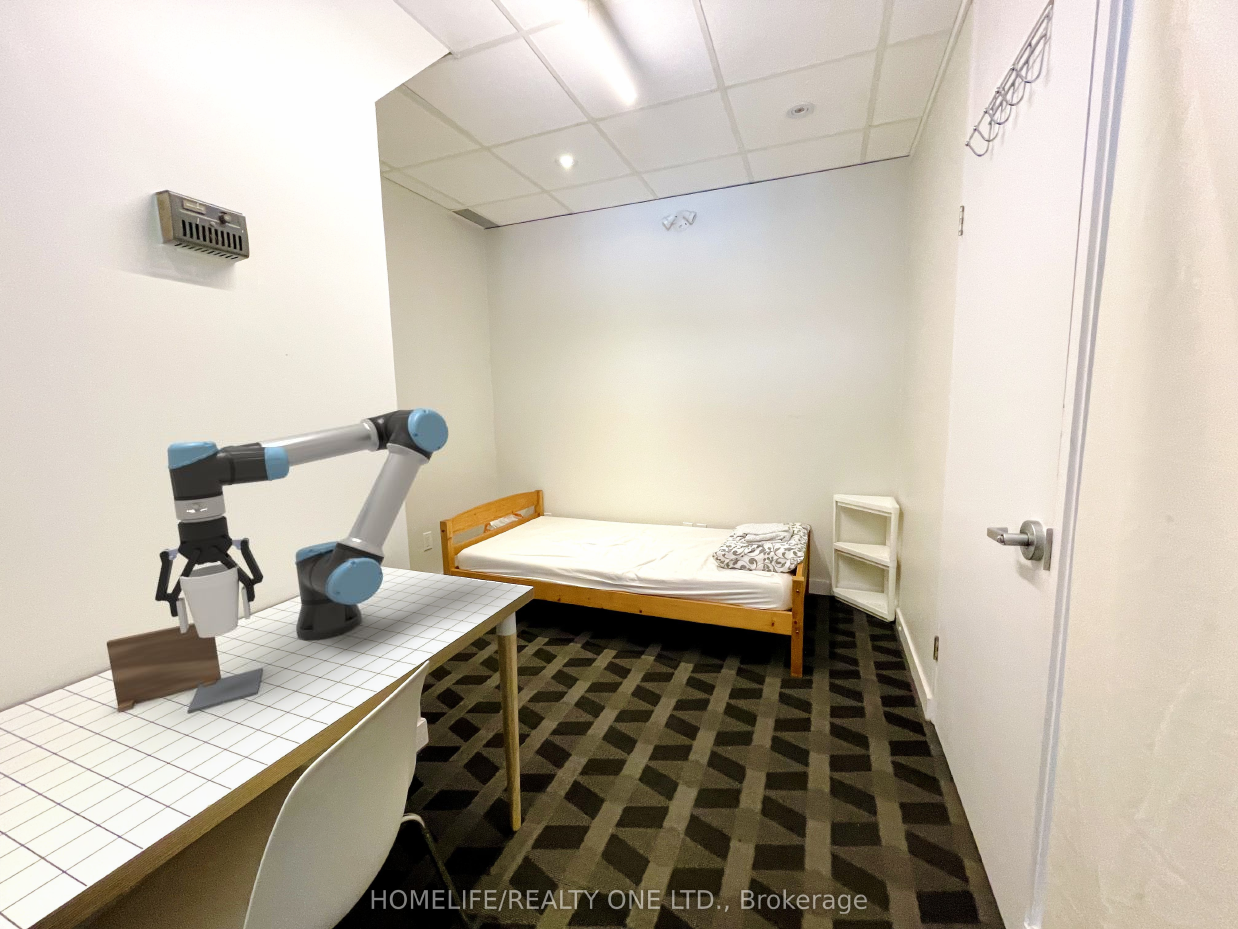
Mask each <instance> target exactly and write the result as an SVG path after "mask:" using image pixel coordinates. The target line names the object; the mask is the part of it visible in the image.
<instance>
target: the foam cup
mask: <svg viewBox="0 0 1238 929" xmlns="http://www.w3.org/2000/svg"><path fill="white" fill-rule="evenodd" d="M236 563H237V562H236ZM237 564H238V565H237V567H236V568H232V569H230V570H228V569H227V567H226V566H225V565H223V564H222V563H221V562H220V563H213V564H209V565H204V566H201V567H197V568H195V567H194V568H193V570H192V572H191V574H190V576H189V577H183V576H181V577H180V575H181V574H179V575H178V579H179V578H180V585H181V589H182V592H183V594H184V597H185V601H186V602H187V606H188V609H189V612H190V615H191V617H192V620H193V623H194V624H195V627H196V630H197V632H198V634H199V637H202V638H209V637H215V638H216V637H219V636H221V635H225V634H228V633H231V632H232V631H235V630H236V629H237V628H238V627H239V625H238V624H239V607H240V606H239V605H240V604H239V602H240V600H239V599H240V597H239V596H240V581H239V580H238V573H237V568H239V566H240V565H239V563H237ZM239 569H240V568H239Z"/></svg>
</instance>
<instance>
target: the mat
mask: <svg viewBox="0 0 1238 929" xmlns="http://www.w3.org/2000/svg"><path fill="white" fill-rule="evenodd" d="M263 671H264V670H263V667H261V668H256V669H253V670H248V671H245V672H240V673H238V674H233V675H230V676H226V677H221V679H218V680H217V681H216V684H213V685H210V686H206V687H203V684H204V683H203V684H199V686H198V688H196V690H195V692H194V695H193V697H192V700H191V702H190V704H189V706H188V708H187V710H186V711H187V714H191V713H196V712H198V711H203V710H206V709H209V708H212V707H217V706H219V705H223V704H227V703H230V702H233V701H237V700H241V699H245V698H248V697H250V696H251V697H252V696H255V695H258V694H259V691H260V684H261V680H262V675H263Z"/></svg>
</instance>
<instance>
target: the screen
mask: <svg viewBox="0 0 1238 929" xmlns="http://www.w3.org/2000/svg"><path fill="white" fill-rule="evenodd" d="M188 624H189V628H188V630H187V631H186V632H185V633H181V630H180V625H178V626H172V627H168V628H162V629H158V630H154V631H148V632H142V633H138V634H134V635H130V636H129V635H127V636H125V637H120V638H115V639H110V640H107V642H106V648H107V653H108V659H109V666H110V670H111V676H112V677H111V678H112V681H113V686H114V693H115V698H116V703H117V704H116V705H117V712H118V714H119V713H122V712H126V711H130V710H133V709H134V707H135V706H136V704H140V703H145V702H148V701H152V700H156V699H160V698H164V697H167V696H172V695H175V694H179V693H182V692H186V691H190V690H193V689H197V688H198V686H199V684H203V683H204V684H203V687H206V686H210V685H213V684H216V681H217V680H218V679H221V678H222V676H221V668H220V662H219V661H220V660H219V655H218V654H219V653H218V648H217V642H216V636H215V637H209V638H202V637H199V634H198V632H197V630H196V627H195V624H194V622H192V623H188Z"/></svg>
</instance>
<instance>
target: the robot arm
mask: <svg viewBox="0 0 1238 929" xmlns="http://www.w3.org/2000/svg"><path fill="white" fill-rule="evenodd" d="M448 439H449V427H448V426H447V422H446V420H445V418H444V416H442V415H441V414H440V413H439V412H437V411H436V410H432V409H429V408H423V407H422V408H421V407H420V408H416V409H399V410H394V411H391V412H390V411H389V412H387V413H384V414H379V415H376V416H372V417H368V418H363V419H361V420H360V422H358V423H354V424H348V425H344V426H343V425H342V426H338V427H337V426H336V427H333V428H328V429H327V428H326V429H322V430H316V431H311V432H306V433H299V434H293V435H289V436H283V437H278V438H272V439H267V440H266V439H265V440H262V441H261V440H260V441H256V442H252V443H243V444H238V445H227V446H224V447H220V448H218V446H217V444H216V442H215V441H212V440H209V441H207V440H206V441H188V442H176V443H172V444H170V445H169V446H168V447H167V465H168V466H167V469H168V472H169V477H170V479H169V480H170V483H171V490H172V495H173V504H174V509H175V510H174V511H175V518H176V519H177V520H179V521H178V523H177V530H178V537H179V545H178V547H175V548H165V549H163V550H162V551H160V553H159V559H160V562H161V565H160V566H161V567H160V572H159V576H158V582H157V587H156V592H155V596H154V597H155V598H154V601H155V602H168V604H169V610H170V616H171V617H172V618H176V617H177V618H178V622H179V623H178V624H179V626H180V630H181V633H185V632H186V631H187V630H188V628H189V624H190V623H189V619H188V612H187V606H186V597H185V596H182V597H180V595H181V593H182V592H183V589H181V585H180V578H179V577H178V579H177V581H176V583H175V585H174V587H173V589H172V591H171V592H168V589H169V584H170V579H171V576H172V575H171V574H172V569H173V564H174V560H175V559H176V558H177V555H178V554H180V555H181V556H182V557H183V558H185V559H186V560H187V562H186V564H185V565H184V568H183V570H182V572H181V574H179V575H180V577H181V576H183V577H189V576H190V574H191V572H192V570H193V569H195V567H196V566H201V565H205V564H208V563H211V564H216V563H218V562H220V564H221V563H222V564H223V565H225V566H226V567H227V569H228V570H230V569H232V568H236V567H237V565H239V563H238V564H237V562H236V561H235V560H234V559H233V557H232V555H230V553H228V551H229V550H230V549H231V547H233V546H234V547H235V548H236V549H237V551H240V554H241V556H242V558H243V560H244V562H245V564H246V566H247V568H248V570H249V571H250V573H251V575H252V578H251V577H250V575H249V574H248V573H247V572H246V571H245V570H244V569H243V568H242V567H241V566H240V565H239V568H240V569H239V568H237V573H238V580H239V583H241V584H242V585H243V586H242V587H241V589H240V593H241V599H242V606H243V614H244V619H245V621H246V620H249V619H251V616H252V610H251V604H250V603H252V602H254V601H255V598H256V592H255V585H257V584H261V583H262V582H263V579H264V575H263V573H262V571H261V569H260V566H259V564H258V562H257V561H256V558H255V556H254V554H253V552H252V551H251V548H250V539H249V538H248V537H243V538H242V539H240V538H239V539H232V538H231V536H230V532H229V527H228V519H227V517H226V516H225V514H226V512H227V510H226V504H225V498H224V492H223V491H224V489H223V488H224V487H225V486H232V485H241V484H250V483H251V484H253V483H259V482H272V481H275V480H281V479H285V478H286V477H288V474H289V473H290V467H296V466H299V465H304V464H310V463H312V462H317V461H322V460H327V459H331V458H335V457H340V456H344V455H349V454H352V453H358V452H362V451H366V450H368V451H369V452H371V453H372V452H373V453H374V452H378V451H382V450H383V451H384V450H387V451H388V455H387V457H386V458H385V461H384V463H383V465H382V467H381V469H380V471H379V473H378V475H377V476H376V479H375V481H374V483H373V485H372V487H371V489H370V492H369V493H368V496H367V497H366V500H365V501H364V503H363V505H362V508H361V509H360V511H359V513H358V515H357V517H356V519H355V522H353V526H352V527H351V529H350V531H349V534H348V535H347V536H346V537H345V538H343V539H340V540H336V541H327V542H323V543H318V544H314V545H309V546H306V547H305V546H304V547H302V548H300V549H298V550H297V551H296V553H295V562H294V564H295V567H296V574H297V581H298V589H299V595H300V596H299V597H300V603H301V605H300V609H299V614H298V618H297V622H296V626H295V629H296V636H297V637H298V639H300V640H306V641H311V640H312V641H313V640H314V641H316V640H325V639H328V638H331V637H332V638H333V637H336V636H340V635H342V634H344V633H347V632H349V631H351V630H353V629H355V628H357V627H358V626H359V625H360V624H361V622H362V621H363V620H362V611H361V610H360V607H359V606H358V605H359V604H362V603H363V602H366V601H367V600H369V599H370V598H373V596H374V595H375V594H376V593H377V592H378V591H379V589H380V588H381V586H382V584H383V579H384V573H383V568H382V567H381V565H382V563H383V561H384V559H385V558H386V555H385V553H384V551H383V546H384V545H385V542H386V540H387V538H388V536H389V534H390V533H391V530H392V528H393V525H394V524H395V521H396V519H397V516H398V515H399V512H400V511H401V509H402V506H403V504H404V502H405V499H406V498H407V495H408V493H409V492H410V489H411V487H412V485H413V483H414V481H415V478H416V477H417V474H418V472H419V470H420V468H421V466H424V465H426V464H429V462H430V460H431V458H432V456H433V454H434V452H437V451H440V450H441V449H442V448H443V447H444V446H445V445H446V443H447V442H448Z"/></svg>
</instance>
